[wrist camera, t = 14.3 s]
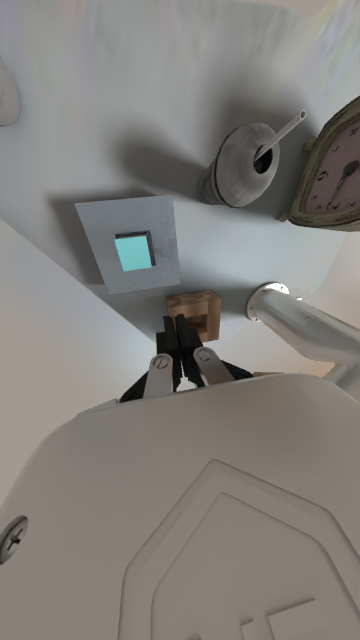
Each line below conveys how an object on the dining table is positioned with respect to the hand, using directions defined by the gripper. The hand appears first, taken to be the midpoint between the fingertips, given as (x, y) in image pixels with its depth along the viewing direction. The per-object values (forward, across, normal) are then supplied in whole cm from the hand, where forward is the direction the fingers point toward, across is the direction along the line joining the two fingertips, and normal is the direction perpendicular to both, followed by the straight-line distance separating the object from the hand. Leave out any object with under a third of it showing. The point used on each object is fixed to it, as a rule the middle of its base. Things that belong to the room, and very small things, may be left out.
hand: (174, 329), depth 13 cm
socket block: (+24, +4, -4) cm, 25 cm away
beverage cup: (+25, -11, -12) cm, 30 cm away
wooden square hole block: (+25, -6, +14) cm, 29 cm away
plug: (+24, +4, -5) cm, 24 cm away
